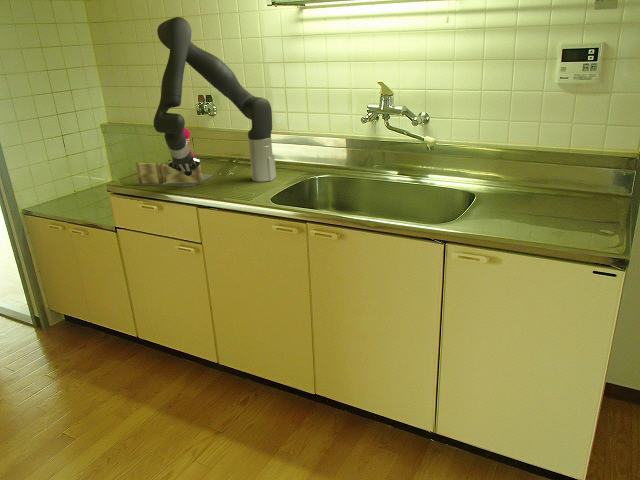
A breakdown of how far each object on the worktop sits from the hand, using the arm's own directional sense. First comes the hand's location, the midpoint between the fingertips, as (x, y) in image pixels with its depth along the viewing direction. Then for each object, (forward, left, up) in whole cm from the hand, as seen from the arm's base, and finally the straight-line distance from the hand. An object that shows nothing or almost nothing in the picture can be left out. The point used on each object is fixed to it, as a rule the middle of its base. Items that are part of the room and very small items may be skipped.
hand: (188, 174), depth 222 cm
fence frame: (+18, 0, -4) cm, 19 cm away
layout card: (+12, -7, -5) cm, 15 cm away
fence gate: (+4, -1, -4) cm, 5 cm away
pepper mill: (+17, -28, -5) cm, 33 cm away
